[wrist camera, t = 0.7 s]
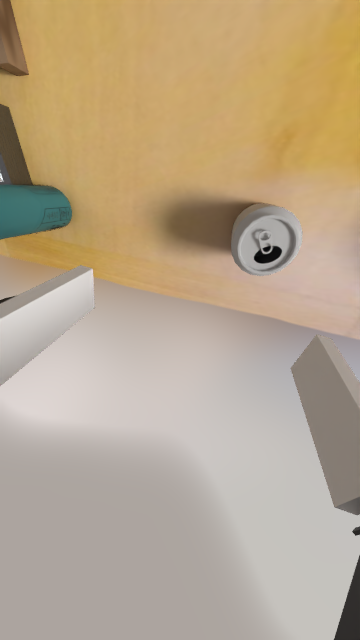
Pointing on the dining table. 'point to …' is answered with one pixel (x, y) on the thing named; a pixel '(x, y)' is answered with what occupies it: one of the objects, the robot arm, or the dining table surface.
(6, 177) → the port
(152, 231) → the dining table surface
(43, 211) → the beverage bottle
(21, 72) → the pair of wooden blocks
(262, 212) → the can
